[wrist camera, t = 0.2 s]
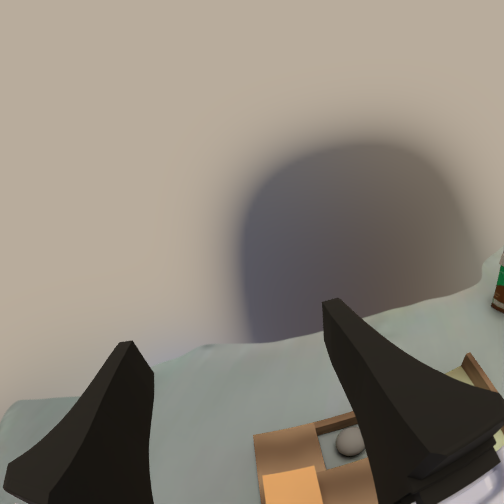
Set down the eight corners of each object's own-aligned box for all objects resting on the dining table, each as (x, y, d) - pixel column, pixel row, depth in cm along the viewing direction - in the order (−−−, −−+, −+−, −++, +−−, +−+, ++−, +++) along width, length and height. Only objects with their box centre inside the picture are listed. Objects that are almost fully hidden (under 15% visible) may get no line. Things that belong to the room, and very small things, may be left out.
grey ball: (369, 453, 21) (373, 443, 20) (339, 463, 21) (340, 454, 20) (360, 430, 24) (363, 417, 22) (332, 439, 24) (332, 427, 22)
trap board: (517, 476, 11) (537, 462, 9) (275, 579, 11) (267, 583, 9) (459, 373, 25) (469, 352, 23) (257, 442, 25) (248, 426, 24)
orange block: (324, 514, 16) (324, 509, 14) (276, 524, 16) (268, 519, 14) (316, 477, 19) (314, 465, 17) (270, 486, 19) (262, 475, 17)
